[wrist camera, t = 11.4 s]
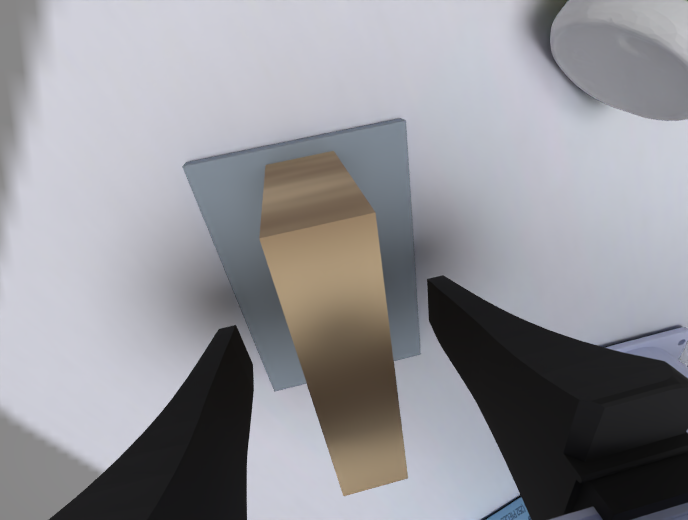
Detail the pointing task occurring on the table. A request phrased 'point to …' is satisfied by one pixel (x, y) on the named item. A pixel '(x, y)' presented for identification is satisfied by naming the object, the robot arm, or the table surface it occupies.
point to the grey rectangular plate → (247, 253)
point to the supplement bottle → (627, 53)
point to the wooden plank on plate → (336, 312)
